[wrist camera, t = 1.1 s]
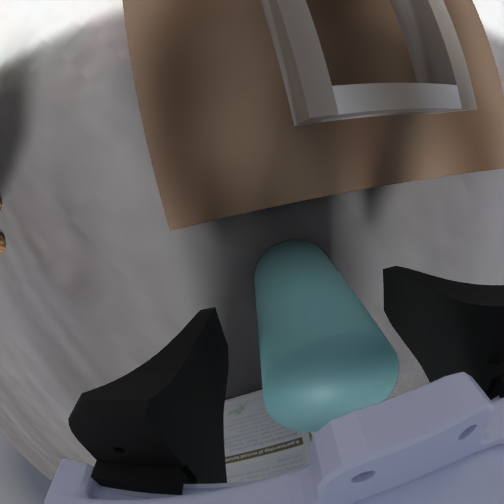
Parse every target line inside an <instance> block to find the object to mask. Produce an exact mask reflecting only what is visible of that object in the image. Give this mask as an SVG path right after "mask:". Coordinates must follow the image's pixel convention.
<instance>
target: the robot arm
mask: <svg viewBox="0 0 504 504" xmlns="http://www.w3.org/2000/svg"><path fill="white" fill-rule="evenodd" d="M383 283H384V311H385V313H386V315H387V317H388V319H389V321H390V323H391V324H392V326H393V328H394V329H395V330H396V332H397V333H398V335H399V336H400V337H401V339H402V340H403V341H404V343H405V344H406V345H407V347H408V348H409V349H410V351H411V352H412V353H413V355H414V356H415V357H416V359H417V360H418V362H419V363H420V365H421V366H422V368H423V370H424V372H425V374H426V376H427V377H428V379H429V381H430V383H428V384H426V385H424V386H421V387H419V388H416V389H414V390H411V391H409V392H406V393H404V394H401V395H398V396H395V397H393V398H390V399H387V400H384V401H381V402H378V403H375V404H372V405H369V406H366V407H362V408H359V409H356V410H353V411H350V412H348V413H346V414H344V415H341V416H339V417H337V418H334V419H332V420H331V421H330V422H328V423H327V424H326V425H325V426H324V427H322V428H321V429H320V430H319V431H317V432H316V433H315V434H314V435H313V438H312V441H311V444H310V447H309V451H310V457H311V463H310V464H307V465H305V466H302V467H299V468H296V469H293V470H290V471H287V472H284V473H281V474H278V475H274V476H271V477H268V478H264V479H261V480H256V481H246V482H234V483H227V475H226V463H225V448H224V403H225V394H226V385H227V376H228V366H229V364H228V345H227V342H226V339H225V336H224V333H223V330H222V327H221V324H220V321H219V318H218V315H217V312H216V309H215V307H214V308H209V309H203V310H200V311H199V312H198V313H197V314H196V315H195V316H194V318H193V319H192V320H191V321H190V322H189V323H188V324H187V325H186V326H185V327H184V329H183V330H182V331H181V332H180V333H179V334H178V335H177V336H176V337H175V338H174V339H173V340H172V341H171V342H170V343H169V344H168V345H167V346H166V347H165V348H163V349H162V350H161V351H160V352H159V353H158V354H156V355H155V356H154V357H152V358H151V359H150V360H149V361H147V362H146V363H144V364H143V365H141V366H140V367H138V368H136V369H135V370H133V371H132V372H130V373H128V374H127V375H125V376H123V377H121V378H119V379H117V380H115V381H113V382H111V383H108V384H106V385H104V386H101V387H99V388H96V389H93V390H90V391H88V392H85V393H82V394H81V396H80V398H79V400H78V402H77V403H76V405H75V407H74V409H73V411H72V413H71V415H70V417H69V426H70V429H71V431H72V433H73V434H74V435H75V437H76V438H77V439H78V441H79V442H80V443H81V444H82V445H83V446H84V447H85V448H86V449H87V450H88V451H89V452H90V453H91V455H92V456H93V457H94V458H95V459H96V460H97V461H96V464H95V467H93V466H91V465H89V464H87V463H84V462H78V461H73V460H69V459H62V461H61V463H60V465H59V467H58V470H57V472H56V474H55V477H54V479H53V481H52V484H51V486H50V489H49V491H48V493H47V496H46V499H45V501H44V504H504V285H477V284H469V283H462V282H456V281H451V280H447V279H443V278H439V277H435V276H432V275H428V274H425V273H421V272H418V271H415V270H411V269H408V268H404V267H399V266H394V267H390V268H386V269H383Z"/></svg>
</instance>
